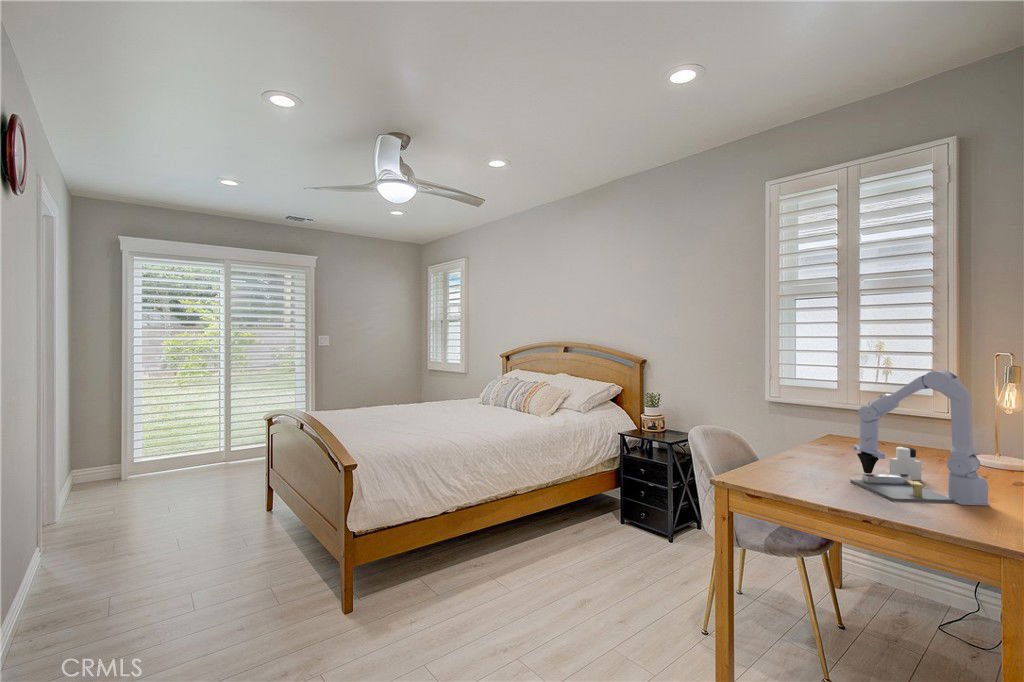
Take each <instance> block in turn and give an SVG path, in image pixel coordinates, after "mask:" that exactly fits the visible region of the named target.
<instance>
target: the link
mask: <svg viewBox="0 0 1024 682" xmlns="http://www.w3.org/2000/svg"><path fill="white" fill-rule="evenodd" d="M861 480H862V481H865V482H867V483H889V484H908V483H907V480H908V481H911V477H910V476H902V475H890V474H880V473H879V474H878V473H877V474H876V473H875V474H873V473H872V474H869V473H862V477H861Z"/></svg>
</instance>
